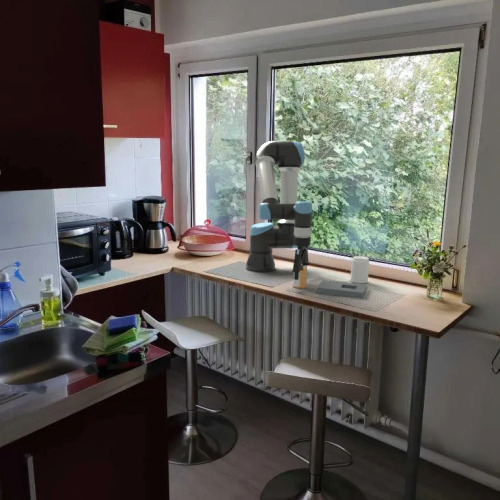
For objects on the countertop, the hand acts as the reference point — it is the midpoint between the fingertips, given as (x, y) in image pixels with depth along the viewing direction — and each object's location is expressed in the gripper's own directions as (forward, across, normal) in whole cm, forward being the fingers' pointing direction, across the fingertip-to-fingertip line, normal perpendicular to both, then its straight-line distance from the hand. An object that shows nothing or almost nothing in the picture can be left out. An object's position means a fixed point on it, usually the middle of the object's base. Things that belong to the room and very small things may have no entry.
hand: (300, 282), depth 226 cm
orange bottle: (+2, 0, 0) cm, 2 cm away
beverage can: (+2, +19, -24) cm, 31 cm away
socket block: (+2, 0, -19) cm, 19 cm away
